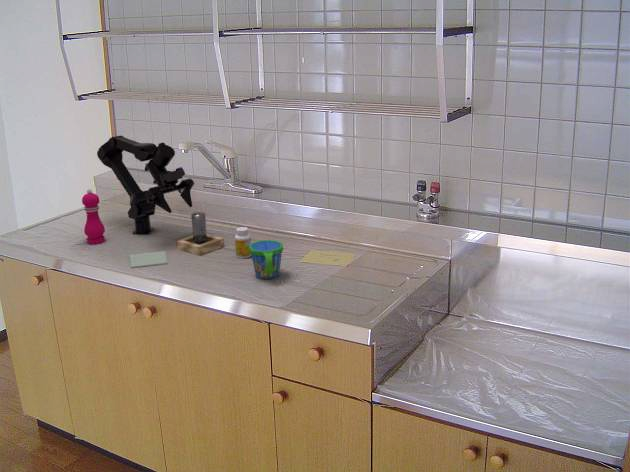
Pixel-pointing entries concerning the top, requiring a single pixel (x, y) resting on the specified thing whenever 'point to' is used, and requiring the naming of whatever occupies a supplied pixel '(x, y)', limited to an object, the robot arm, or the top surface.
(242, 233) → the supplement bottle
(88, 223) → the pepper mill
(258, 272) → the snack cup
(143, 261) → the rubber mat
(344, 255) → the top surface
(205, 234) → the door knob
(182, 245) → the collar block
